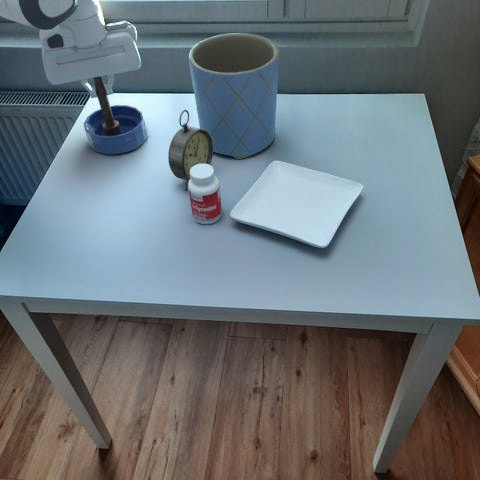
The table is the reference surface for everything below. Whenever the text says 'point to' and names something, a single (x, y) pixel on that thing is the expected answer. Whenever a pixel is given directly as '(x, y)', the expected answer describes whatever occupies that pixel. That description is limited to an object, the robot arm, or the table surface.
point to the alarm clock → (189, 150)
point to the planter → (236, 91)
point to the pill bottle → (204, 194)
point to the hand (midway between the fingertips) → (102, 95)
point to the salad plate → (297, 203)
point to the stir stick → (106, 109)
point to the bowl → (129, 125)
